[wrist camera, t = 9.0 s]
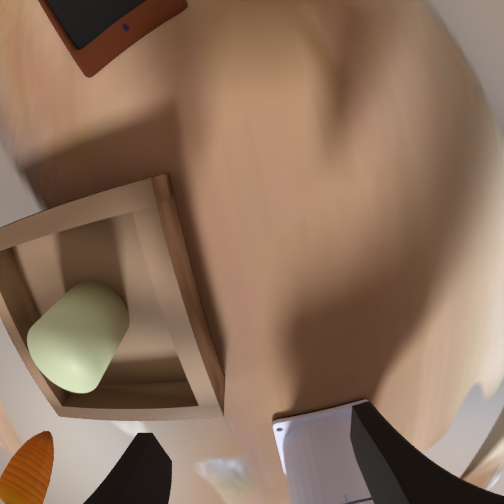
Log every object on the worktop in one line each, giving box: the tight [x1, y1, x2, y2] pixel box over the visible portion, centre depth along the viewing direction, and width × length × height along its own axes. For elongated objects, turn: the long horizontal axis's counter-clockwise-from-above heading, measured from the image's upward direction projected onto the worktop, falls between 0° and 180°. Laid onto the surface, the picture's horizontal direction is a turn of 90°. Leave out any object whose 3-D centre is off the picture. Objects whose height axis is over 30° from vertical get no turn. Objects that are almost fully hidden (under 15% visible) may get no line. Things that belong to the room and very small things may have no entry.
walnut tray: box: [0, 173, 225, 421], centre depth 16 cm, size 14×13×4 cm
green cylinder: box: [27, 280, 129, 393], centre depth 14 cm, size 4×4×5 cm
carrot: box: [0, 431, 54, 504], centre depth 15 cm, size 5×5×15 cm
